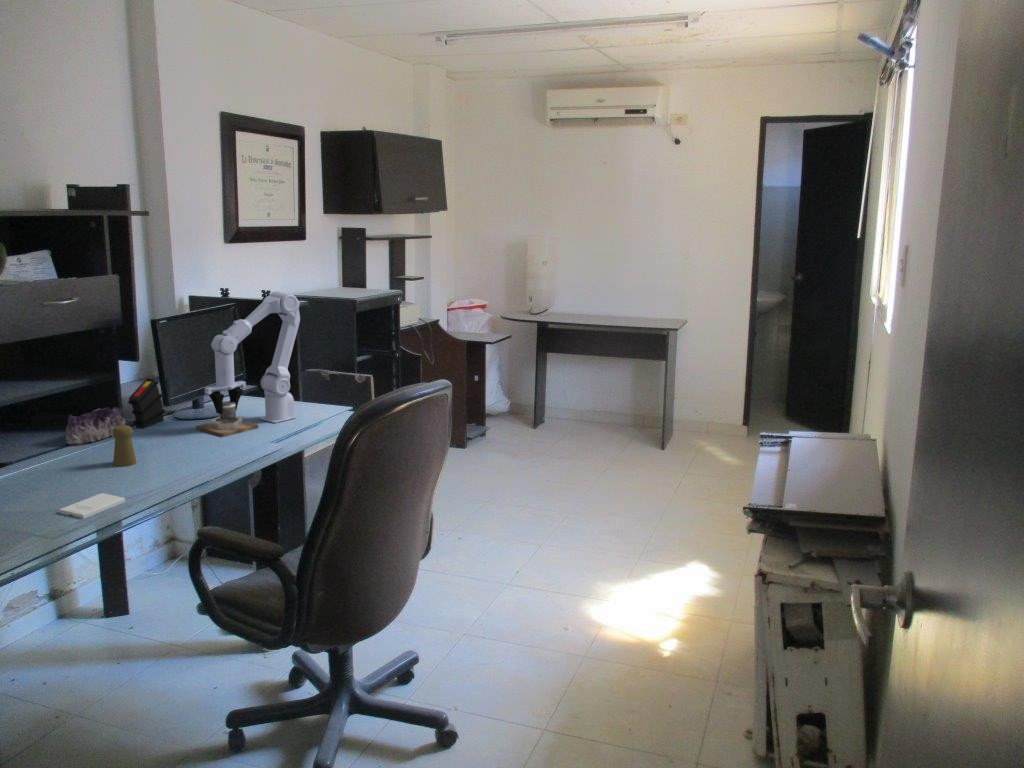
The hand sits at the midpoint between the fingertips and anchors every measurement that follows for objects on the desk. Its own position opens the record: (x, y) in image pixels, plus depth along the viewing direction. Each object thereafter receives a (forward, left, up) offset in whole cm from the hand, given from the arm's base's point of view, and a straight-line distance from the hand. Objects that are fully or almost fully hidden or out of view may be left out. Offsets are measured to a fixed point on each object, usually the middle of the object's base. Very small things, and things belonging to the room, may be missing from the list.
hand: (226, 411), depth 272 cm
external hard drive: (+65, +33, -6) cm, 73 cm away
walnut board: (0, 0, -6) cm, 6 cm away
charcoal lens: (0, +1, -2) cm, 2 cm away
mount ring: (0, 0, -6) cm, 6 cm away
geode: (+32, -22, -6) cm, 40 cm away
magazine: (+14, -23, -6) cm, 28 cm away
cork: (+41, +8, -6) cm, 42 cm away
